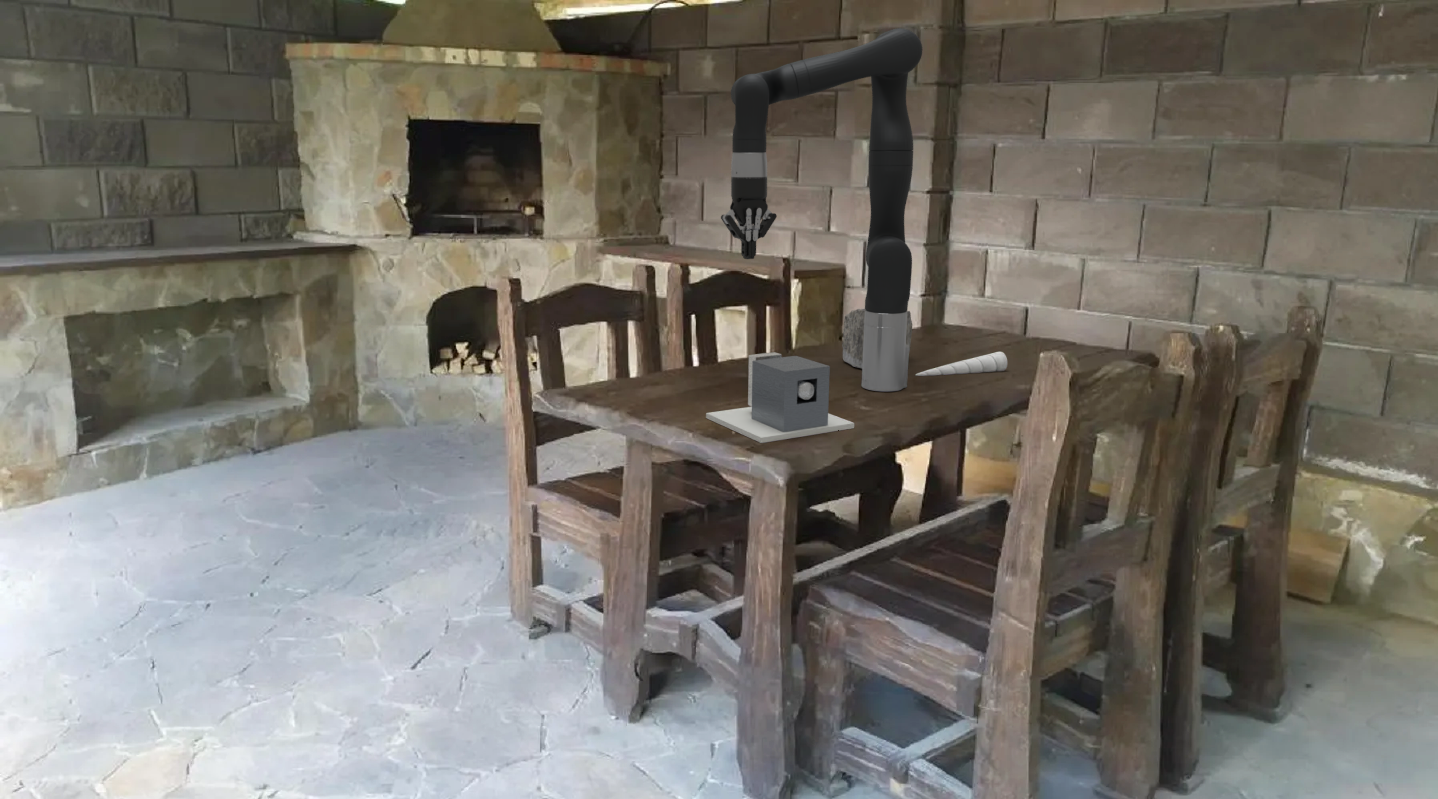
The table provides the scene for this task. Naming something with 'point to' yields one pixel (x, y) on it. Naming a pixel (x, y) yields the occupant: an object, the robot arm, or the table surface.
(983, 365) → the unicorn horn
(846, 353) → the petrified wood
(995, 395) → the table surface
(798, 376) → the block
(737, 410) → the base plate
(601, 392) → the table surface
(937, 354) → the table surface
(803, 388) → the shaft
